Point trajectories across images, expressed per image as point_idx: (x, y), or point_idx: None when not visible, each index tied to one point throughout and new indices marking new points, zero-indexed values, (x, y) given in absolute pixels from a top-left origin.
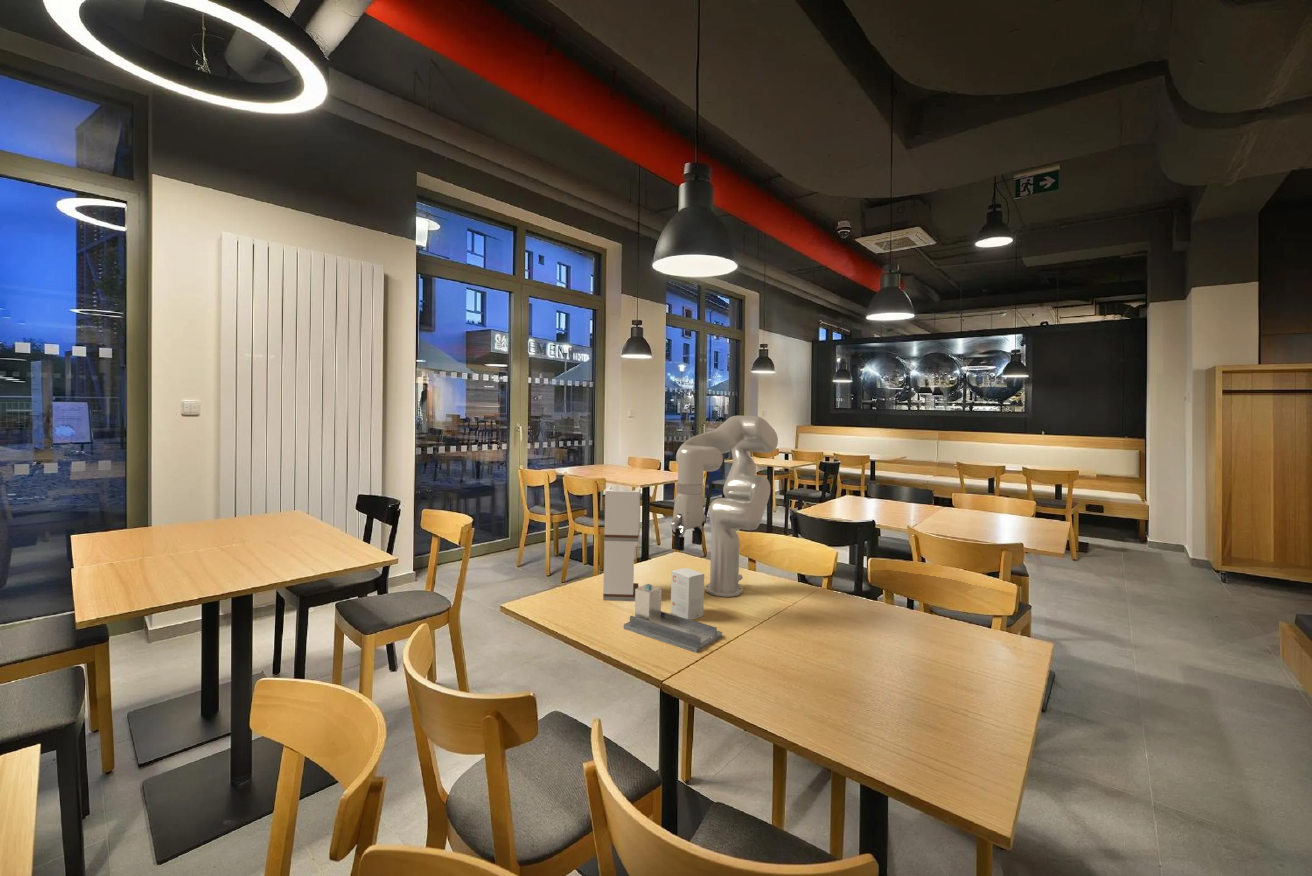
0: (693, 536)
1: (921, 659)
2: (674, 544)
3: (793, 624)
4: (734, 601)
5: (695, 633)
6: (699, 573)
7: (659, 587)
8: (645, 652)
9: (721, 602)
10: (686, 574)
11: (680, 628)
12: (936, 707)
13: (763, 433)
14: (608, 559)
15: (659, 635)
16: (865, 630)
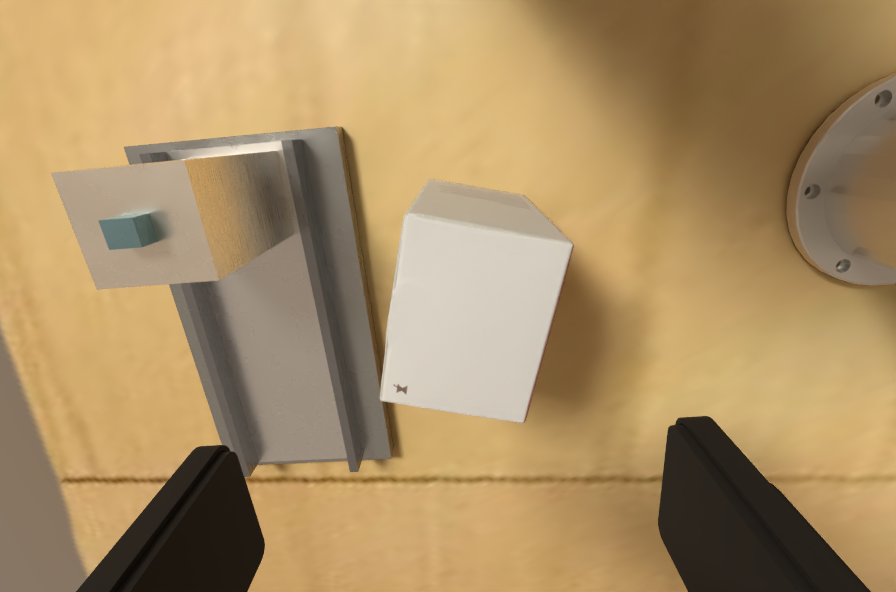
0: (726, 529)
1: None
2: (165, 496)
3: (648, 548)
4: (760, 304)
5: (300, 413)
6: (503, 401)
7: (211, 268)
8: (98, 350)
9: (712, 268)
10: (414, 354)
11: (288, 353)
12: None
13: None
14: None
15: (187, 330)
16: None
